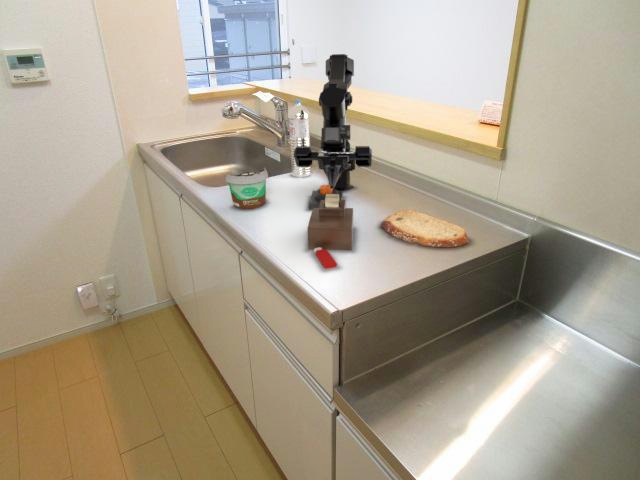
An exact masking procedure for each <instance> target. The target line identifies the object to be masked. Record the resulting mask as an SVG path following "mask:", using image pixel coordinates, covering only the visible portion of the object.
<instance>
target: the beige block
mask: <svg viewBox="0 0 640 480" xmlns="http://www.w3.org/2000/svg"><path fill="white" fill-rule="evenodd" d="M325 207H339V194H326V197H325Z"/></svg>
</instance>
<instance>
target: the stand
mask: <svg viewBox="0 0 640 480" xmlns="http://www.w3.org/2000/svg"><path fill="white" fill-rule="evenodd" d="M353 234H354V208H353V207H346V199H342V200H339V207H325V200H321V202H320V206H319V208H313V210H311V214H310V216H309V221H308V225H307V247H308V248H307V249H308V251H309V250H311V251H314V249H315V248H319V247H320V248H325V249H326V250H327V251H353V237H354V235H353Z"/></svg>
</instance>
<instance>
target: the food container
mask: <svg viewBox="0 0 640 480" xmlns="http://www.w3.org/2000/svg"><path fill="white" fill-rule="evenodd" d="M268 178H269V174H268V171H267V168H266V167H263V170H258V171H246V172H243V173H239V174H236V175H231V174H228V173H226V176H225V182H226V183H228V187H229V192H230V195H231V200H232V205H233V207H234V208H235V209H237V210H244V211H245V210H246V211H248V210H249V211H250V210H255V209H258V208H261V207H263V206H265V205H266V195H267V194H266V193H267V191H266V188H267V185H266V184H267V179H268Z"/></svg>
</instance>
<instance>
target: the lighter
mask: <svg viewBox="0 0 640 480" xmlns="http://www.w3.org/2000/svg"><path fill="white" fill-rule="evenodd" d="M313 253H314V255H315V256H316V257H317V259H318V260H319V262H320V263H321V265H322V266H323V268H324V269H332V268H337V266H338V264H337V262H336V260H335V259H334V257H332V255H331V254H330V252H329V250H326V249H325V248H320V247H319V248H315V249H314V250H313Z"/></svg>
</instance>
